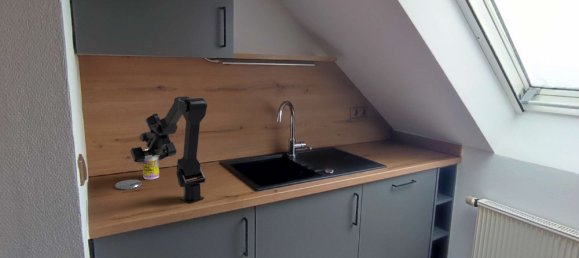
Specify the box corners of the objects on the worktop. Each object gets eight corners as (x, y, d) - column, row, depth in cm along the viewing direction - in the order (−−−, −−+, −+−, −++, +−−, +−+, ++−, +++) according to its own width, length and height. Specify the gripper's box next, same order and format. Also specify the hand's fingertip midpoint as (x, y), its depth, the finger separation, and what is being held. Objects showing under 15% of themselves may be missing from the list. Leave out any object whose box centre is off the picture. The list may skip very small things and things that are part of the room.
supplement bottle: (140, 179, 163) (138, 151, 160) (148, 174, 169) (146, 147, 167) (154, 180, 162) (153, 152, 160) (162, 175, 168) (160, 148, 166)
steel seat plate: (146, 185, 155) (145, 183, 155) (122, 191, 148) (122, 189, 148) (134, 180, 162) (134, 178, 162) (111, 186, 154) (111, 183, 154)
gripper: (172, 124, 165) (162, 143, 175) (130, 129, 152) (121, 150, 162) (182, 144, 161) (171, 163, 171) (139, 151, 148) (130, 171, 158)
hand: (149, 161), depth 165 cm, fingers open, 9 cm apart
